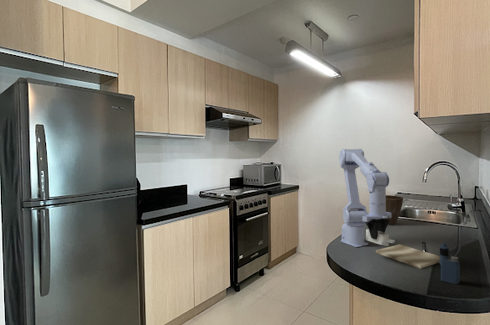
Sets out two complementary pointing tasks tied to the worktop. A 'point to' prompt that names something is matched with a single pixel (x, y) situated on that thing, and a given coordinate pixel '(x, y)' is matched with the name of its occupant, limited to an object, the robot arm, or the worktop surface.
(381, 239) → the usb connector
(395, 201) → the plant pot
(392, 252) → the wood pad
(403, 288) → the worktop surface
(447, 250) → the vaping device
